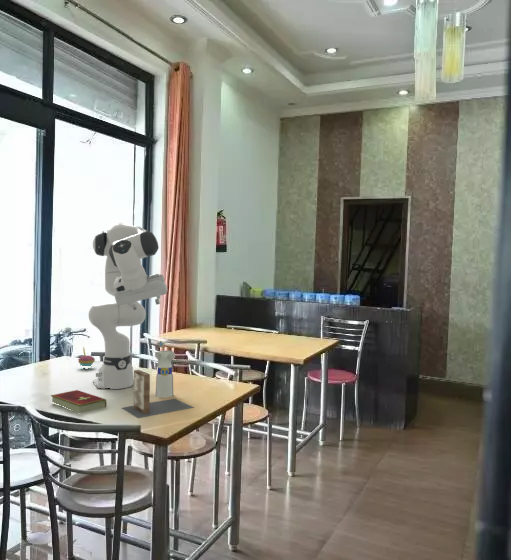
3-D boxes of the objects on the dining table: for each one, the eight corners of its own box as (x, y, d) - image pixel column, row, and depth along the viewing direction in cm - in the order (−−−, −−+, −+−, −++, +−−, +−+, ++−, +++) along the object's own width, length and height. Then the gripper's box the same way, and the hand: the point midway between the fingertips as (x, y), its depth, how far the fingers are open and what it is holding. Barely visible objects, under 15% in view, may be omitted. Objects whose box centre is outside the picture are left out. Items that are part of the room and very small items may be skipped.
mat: (120, 408, 191) (120, 407, 191) (174, 399, 206) (174, 398, 206) (138, 419, 179) (138, 418, 179) (194, 408, 194) (194, 407, 194)
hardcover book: (77, 398, 206) (77, 389, 206) (106, 408, 193) (106, 398, 193) (50, 404, 197) (50, 394, 197) (79, 415, 184) (79, 404, 184)
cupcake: (75, 369, 261) (75, 347, 261) (83, 366, 269) (83, 345, 269) (90, 370, 260) (90, 348, 259) (97, 367, 268) (97, 345, 268)
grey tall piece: (175, 398, 208) (175, 340, 207) (154, 399, 206) (155, 340, 206) (175, 393, 216) (175, 337, 215) (155, 393, 214) (156, 337, 214)
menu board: (133, 408, 191) (133, 370, 191) (138, 407, 193) (138, 369, 192) (144, 414, 184) (144, 375, 183) (149, 413, 185) (149, 374, 184)
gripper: (162, 268, 189) (171, 295, 197) (110, 280, 188) (122, 307, 196) (162, 277, 184) (172, 304, 192) (109, 290, 183) (121, 317, 191)
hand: (146, 306), depth 194 cm, fingers open, 8 cm apart
